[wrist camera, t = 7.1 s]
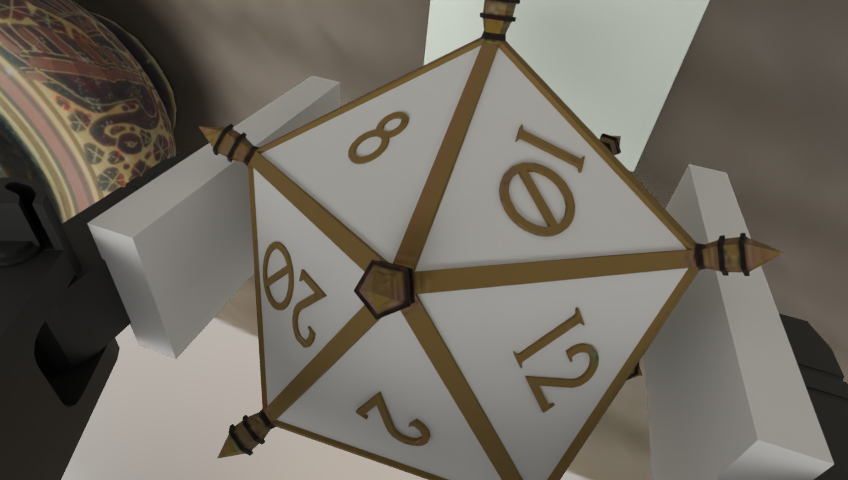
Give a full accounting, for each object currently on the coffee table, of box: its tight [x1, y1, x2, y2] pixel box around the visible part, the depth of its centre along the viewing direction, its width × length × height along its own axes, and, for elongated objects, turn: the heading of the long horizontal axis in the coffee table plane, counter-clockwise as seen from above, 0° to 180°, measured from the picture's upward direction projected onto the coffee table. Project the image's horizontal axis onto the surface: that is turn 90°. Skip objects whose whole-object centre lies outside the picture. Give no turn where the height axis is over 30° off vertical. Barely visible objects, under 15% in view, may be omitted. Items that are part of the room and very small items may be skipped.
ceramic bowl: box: [0, 0, 177, 224], centre depth 28 cm, size 24×18×15 cm
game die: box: [199, 0, 783, 480], centre depth 9 cm, size 9×8×10 cm
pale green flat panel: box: [424, 0, 710, 172], centre depth 23 cm, size 12×12×1 cm
